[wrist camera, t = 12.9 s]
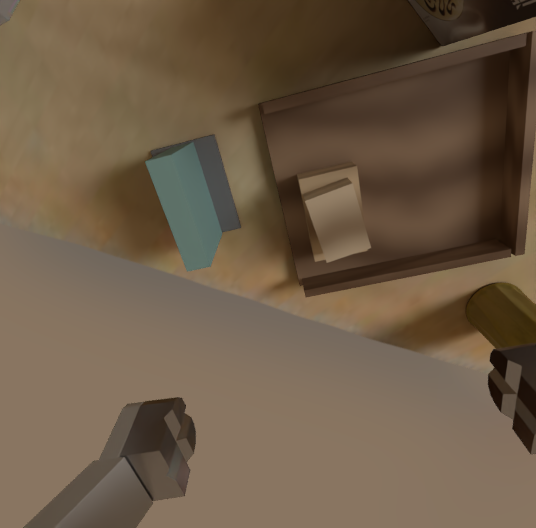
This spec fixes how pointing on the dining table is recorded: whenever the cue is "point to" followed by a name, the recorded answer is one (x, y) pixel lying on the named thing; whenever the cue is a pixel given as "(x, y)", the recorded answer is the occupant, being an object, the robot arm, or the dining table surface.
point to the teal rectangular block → (186, 204)
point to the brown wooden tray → (416, 161)
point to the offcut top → (337, 219)
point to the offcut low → (320, 179)
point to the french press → (7, 9)
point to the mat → (214, 180)
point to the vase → (503, 315)
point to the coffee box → (470, 16)
